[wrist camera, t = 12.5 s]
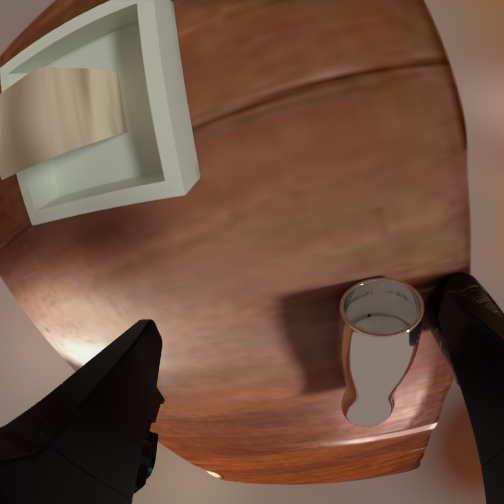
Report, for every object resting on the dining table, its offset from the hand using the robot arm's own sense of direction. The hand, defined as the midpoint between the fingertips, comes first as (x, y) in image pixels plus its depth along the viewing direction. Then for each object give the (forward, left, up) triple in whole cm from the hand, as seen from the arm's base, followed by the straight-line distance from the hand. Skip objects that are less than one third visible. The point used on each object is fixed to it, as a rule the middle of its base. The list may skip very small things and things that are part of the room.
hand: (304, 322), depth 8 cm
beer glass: (+8, -23, -10) cm, 26 cm away
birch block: (-12, +8, -12) cm, 19 cm away
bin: (-12, +8, -13) cm, 19 cm away
